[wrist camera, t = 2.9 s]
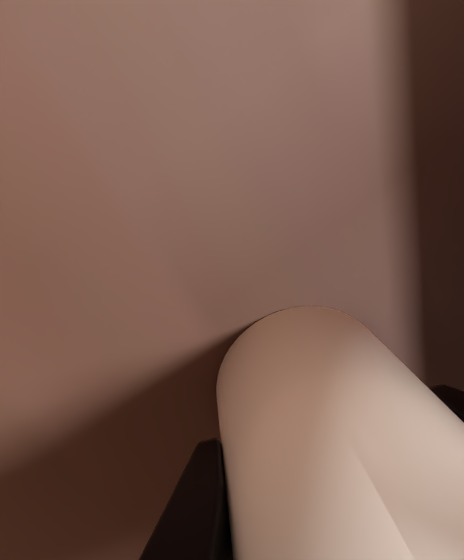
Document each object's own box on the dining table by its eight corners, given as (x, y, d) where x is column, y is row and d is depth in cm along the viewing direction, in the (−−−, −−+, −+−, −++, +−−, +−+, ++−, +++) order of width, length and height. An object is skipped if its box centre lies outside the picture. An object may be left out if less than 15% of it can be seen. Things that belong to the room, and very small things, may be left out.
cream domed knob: (390, 435, 10) (822, 1040, 3) (234, 472, 10) (332, 1189, 3) (377, 287, 8) (1076, 778, 2) (198, 328, 8) (227, 1018, 2)
